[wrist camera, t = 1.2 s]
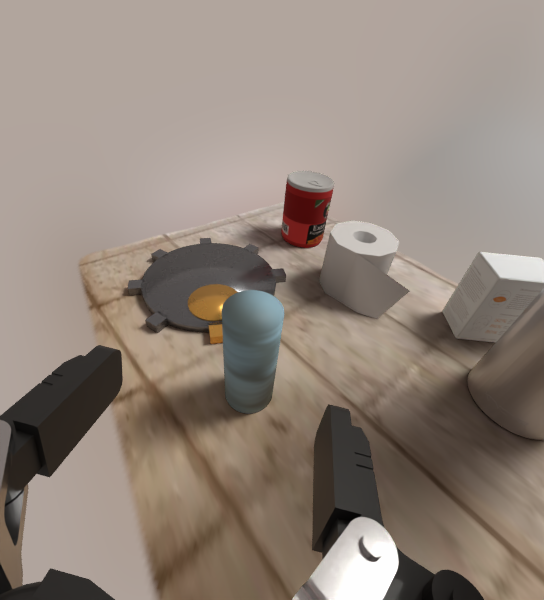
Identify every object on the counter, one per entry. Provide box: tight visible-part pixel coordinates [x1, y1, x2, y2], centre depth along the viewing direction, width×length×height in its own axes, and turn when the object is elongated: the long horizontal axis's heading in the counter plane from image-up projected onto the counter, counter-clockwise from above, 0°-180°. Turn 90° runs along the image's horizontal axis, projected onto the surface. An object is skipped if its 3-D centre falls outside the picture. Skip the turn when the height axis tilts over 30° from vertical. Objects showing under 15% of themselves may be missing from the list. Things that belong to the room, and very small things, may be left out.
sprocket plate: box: [128, 238, 286, 344], centre depth 44 cm, size 21×22×2 cm
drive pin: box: [222, 290, 284, 414], centre depth 28 cm, size 5×5×12 cm
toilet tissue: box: [319, 221, 409, 319], centre depth 44 cm, size 9×13×9 cm
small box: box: [442, 252, 544, 343], centre depth 39 cm, size 8×6×10 cm
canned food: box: [281, 171, 334, 248], centre depth 54 cm, size 8×8×11 cm
